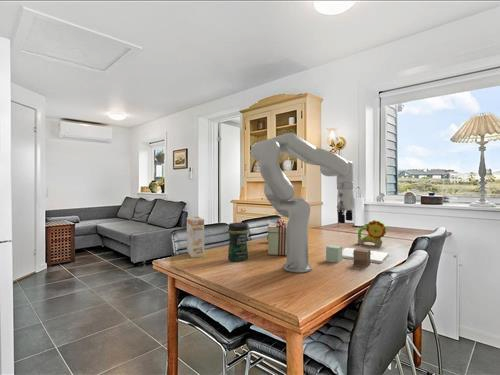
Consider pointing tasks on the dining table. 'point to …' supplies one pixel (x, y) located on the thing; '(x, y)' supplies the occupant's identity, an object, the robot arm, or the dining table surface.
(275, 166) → the robot arm
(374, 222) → the toy lion
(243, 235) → the coffee jar
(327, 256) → the sage block
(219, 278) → the dining table surface
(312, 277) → the dining table surface
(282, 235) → the gift box
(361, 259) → the walnut block
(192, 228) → the coffeecake box
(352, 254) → the board
